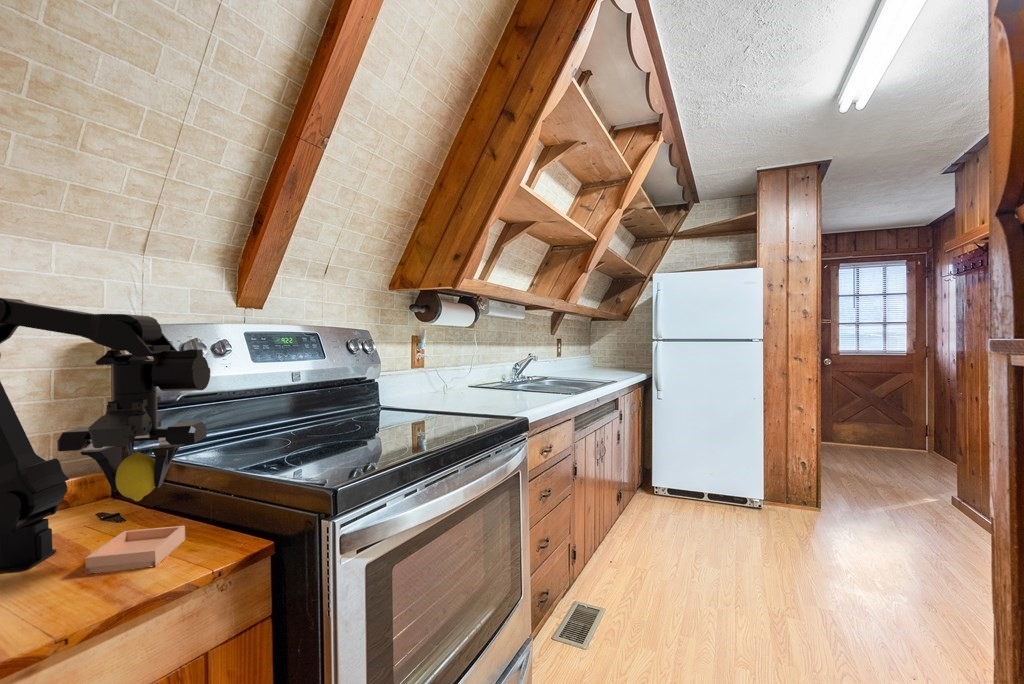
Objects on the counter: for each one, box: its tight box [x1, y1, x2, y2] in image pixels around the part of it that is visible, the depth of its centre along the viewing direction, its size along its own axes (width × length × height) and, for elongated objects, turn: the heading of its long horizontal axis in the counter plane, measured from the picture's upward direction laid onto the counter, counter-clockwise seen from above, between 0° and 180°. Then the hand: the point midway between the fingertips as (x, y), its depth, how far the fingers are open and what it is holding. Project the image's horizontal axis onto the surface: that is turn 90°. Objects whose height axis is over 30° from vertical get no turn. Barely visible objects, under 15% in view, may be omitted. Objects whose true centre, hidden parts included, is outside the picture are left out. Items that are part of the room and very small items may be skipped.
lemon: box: [115, 451, 156, 502], centre depth 79 cm, size 6×6×8 cm
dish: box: [84, 525, 186, 575], centre depth 79 cm, size 9×10×2 cm
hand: (137, 488), depth 79 cm, fingers closed on lemon, 5 cm apart
